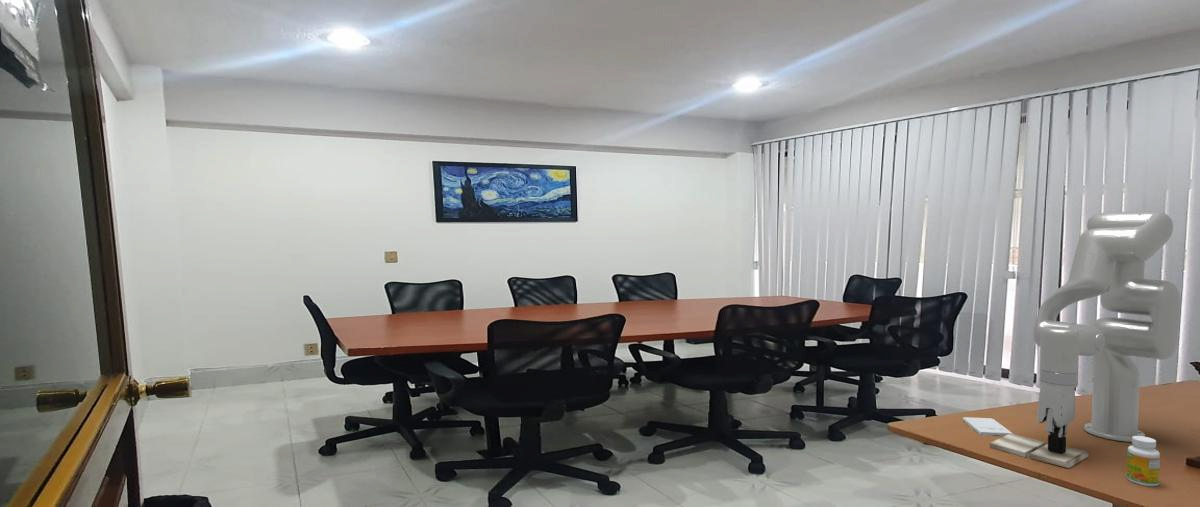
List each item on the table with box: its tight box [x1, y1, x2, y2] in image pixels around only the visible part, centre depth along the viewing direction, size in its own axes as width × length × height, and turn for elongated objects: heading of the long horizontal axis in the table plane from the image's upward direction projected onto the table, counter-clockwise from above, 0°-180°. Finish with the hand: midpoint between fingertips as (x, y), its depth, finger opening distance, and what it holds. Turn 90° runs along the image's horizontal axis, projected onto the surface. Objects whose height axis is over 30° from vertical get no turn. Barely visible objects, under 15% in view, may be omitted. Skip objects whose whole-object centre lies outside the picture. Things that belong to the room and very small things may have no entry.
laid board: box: [989, 433, 1046, 459], centre depth 156 cm, size 12×9×1 cm
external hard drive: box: [962, 416, 1014, 437], centre depth 171 cm, size 2×8×12 cm
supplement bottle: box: [1126, 436, 1161, 487], centre depth 135 cm, size 5×5×10 cm
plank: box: [1029, 443, 1089, 469], centre depth 149 cm, size 12×8×1 cm, turn 124°
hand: (1056, 451), depth 149 cm, fingers closed
